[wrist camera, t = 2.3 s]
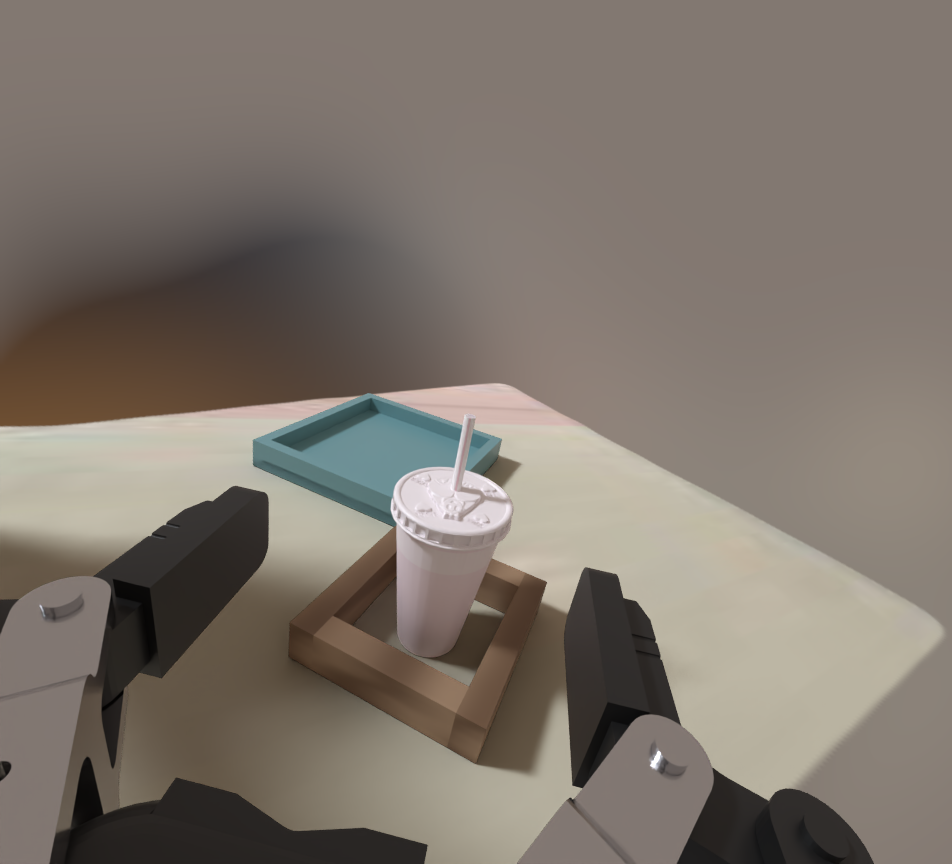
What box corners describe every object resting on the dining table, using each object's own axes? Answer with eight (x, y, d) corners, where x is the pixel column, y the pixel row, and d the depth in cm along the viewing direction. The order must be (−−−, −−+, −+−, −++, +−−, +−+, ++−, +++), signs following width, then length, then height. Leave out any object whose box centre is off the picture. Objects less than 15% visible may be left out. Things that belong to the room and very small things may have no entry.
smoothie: (481, 600, 31) (529, 409, 25) (478, 687, 25) (541, 463, 19) (386, 584, 31) (414, 387, 25) (361, 669, 25) (390, 435, 19)
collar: (288, 656, 25) (289, 622, 24) (397, 547, 34) (401, 519, 33) (475, 764, 21) (486, 729, 20) (537, 610, 31) (547, 582, 30)
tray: (253, 465, 40) (252, 439, 39) (366, 412, 55) (368, 393, 54) (422, 538, 36) (427, 512, 35) (497, 459, 50) (502, 439, 49)
